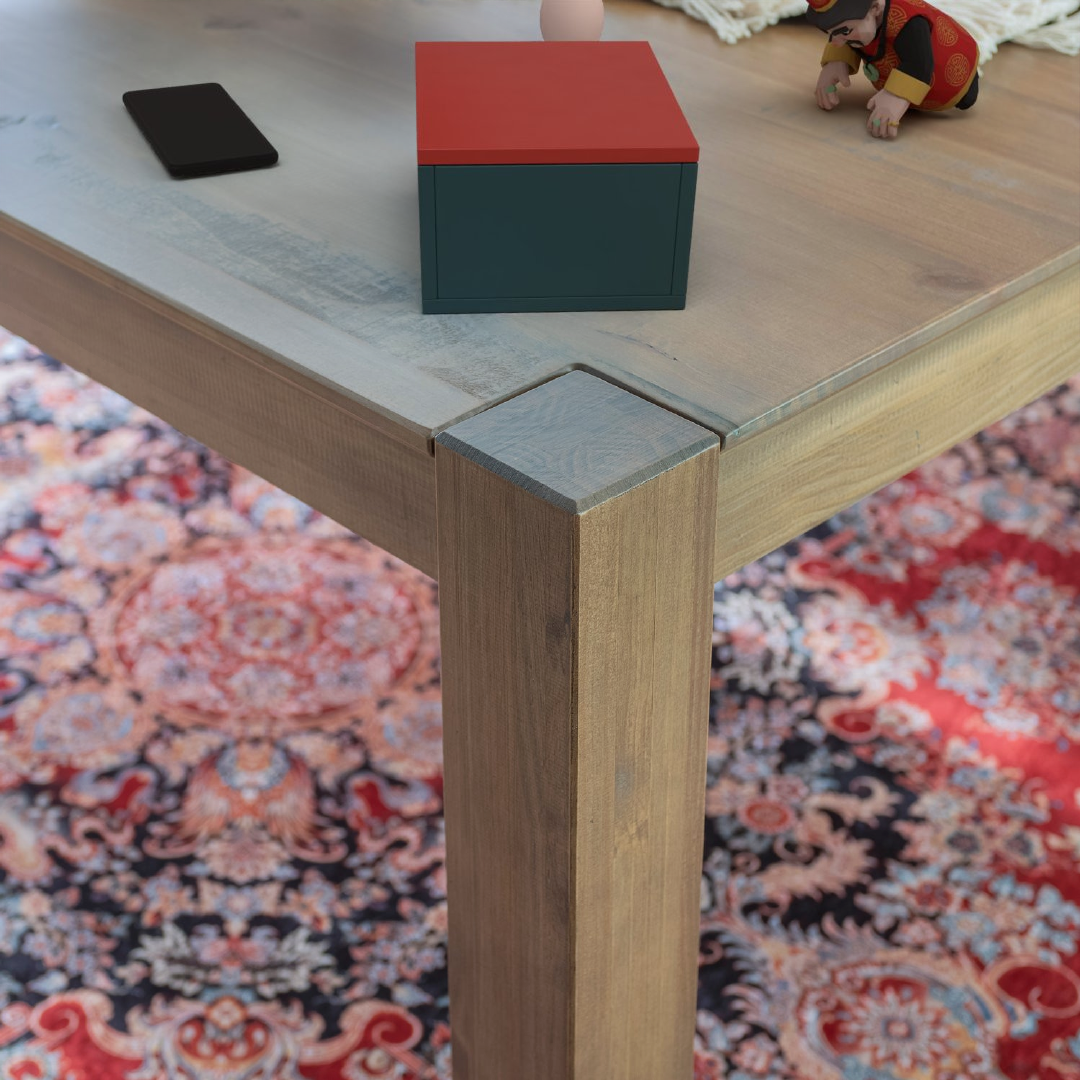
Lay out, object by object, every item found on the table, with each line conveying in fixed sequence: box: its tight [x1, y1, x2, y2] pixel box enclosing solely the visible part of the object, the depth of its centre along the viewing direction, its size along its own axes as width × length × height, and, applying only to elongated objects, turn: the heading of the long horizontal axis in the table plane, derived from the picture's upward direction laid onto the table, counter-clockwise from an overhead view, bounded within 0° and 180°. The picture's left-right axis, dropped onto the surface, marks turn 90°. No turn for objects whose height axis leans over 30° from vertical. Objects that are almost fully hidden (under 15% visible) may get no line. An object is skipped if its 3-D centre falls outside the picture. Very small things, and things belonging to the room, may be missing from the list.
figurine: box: [805, 0, 981, 139], centre depth 93 cm, size 10×10×15 cm
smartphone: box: [121, 82, 280, 178], centre depth 90 cm, size 7×1×15 cm
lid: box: [414, 40, 701, 165], centre depth 73 cm, size 17×14×1 cm
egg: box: [539, 0, 605, 41], centre depth 103 cm, size 5×5×7 cm
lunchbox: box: [416, 162, 699, 314], centre depth 75 cm, size 17×14×8 cm
